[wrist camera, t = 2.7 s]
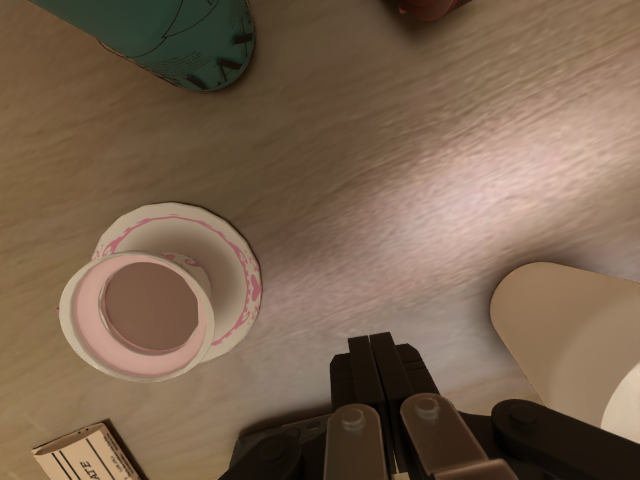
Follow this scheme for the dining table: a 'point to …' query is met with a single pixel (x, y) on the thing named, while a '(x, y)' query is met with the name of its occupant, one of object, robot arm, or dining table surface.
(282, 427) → the camera
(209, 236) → the teacup
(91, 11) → the beverage bottle
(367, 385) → the robot arm
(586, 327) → the cup
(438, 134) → the dining table surface
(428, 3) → the alarm clock
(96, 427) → the newspaper
